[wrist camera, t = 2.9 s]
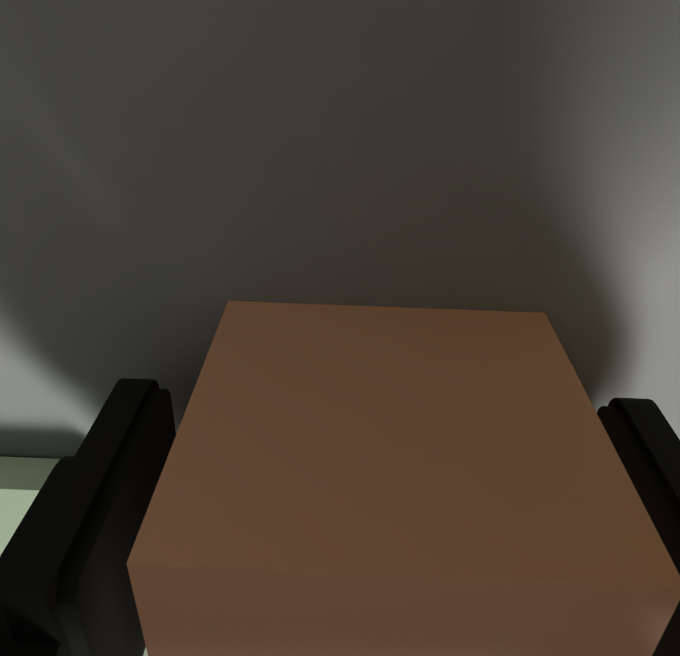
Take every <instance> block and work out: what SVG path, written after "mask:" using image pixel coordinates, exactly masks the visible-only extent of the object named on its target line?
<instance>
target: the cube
mask: <svg viewBox="0 0 680 656" xmlns="http://www.w3.org/2000/svg"><path fill="white" fill-rule="evenodd" d="M126 564H127V568H128V572H129V577H130V581H131V585H132V589H133V594H134V598H135V602H136V606H137V611H138V615H139V619H140V623H141V628H142V632H143V636H144V641H145V645H146V649H147V653H148V656H652V655H653V653H654V651H655V649H656V647H657V645H658V643H659V641H660V639H661V637H662V635H663V633H664V631H665V629H666V627H667V625H668V623H669V621H670V619H671V617H672V615H673V613H674V611H675V609H676V607H677V605H678V603H679V601H680V575H679V573H678V571H677V569H676V567H675V565H674V563H673V561H672V559H671V557H670V555H669V553H668V551H667V549H666V548H665V546H664V544H663V542H662V540H661V538H660V536H659V534H658V532H657V530H656V528H655V526H654V524H653V522H652V520H651V518H650V516H649V514H648V512H647V510H646V508H645V507H644V505H643V503H642V501H641V499H640V497H639V495H638V493H637V491H636V489H635V487H634V485H633V483H632V481H631V479H630V477H629V475H628V473H627V471H626V469H625V467H624V466H623V464H622V462H621V460H620V458H619V456H618V454H617V452H616V450H615V448H614V446H613V444H612V442H611V440H610V438H609V436H608V434H607V432H606V430H605V428H604V426H603V425H602V423H601V421H600V419H599V417H598V415H597V413H596V411H595V409H594V407H593V405H592V403H591V401H590V399H589V397H588V395H587V393H586V391H585V389H584V387H583V386H582V384H581V382H580V380H579V378H578V376H577V374H576V372H575V370H574V368H573V366H572V364H571V362H570V360H569V358H568V356H567V354H566V352H565V350H564V348H563V346H562V345H561V343H560V341H559V339H558V337H557V335H556V333H555V331H554V329H553V327H552V325H551V323H550V321H549V319H548V317H547V315H546V313H542V312H515V311H488V310H462V309H435V308H408V307H382V306H355V305H328V304H302V303H275V302H248V301H228V302H227V305H226V307H225V310H224V313H223V315H222V318H221V320H220V323H219V326H218V328H217V331H216V333H215V336H214V338H213V341H212V344H211V346H210V349H209V351H208V354H207V357H206V359H205V362H204V364H203V367H202V369H201V372H200V375H199V377H198V380H197V382H196V385H195V388H194V390H193V393H192V395H191V398H190V400H189V403H188V406H187V408H186V411H185V413H184V416H183V419H182V421H181V424H180V426H179V429H178V431H177V434H176V437H175V439H174V442H173V444H172V447H171V450H170V452H169V455H168V457H167V460H166V462H165V465H164V468H163V470H162V473H161V475H160V478H159V481H158V483H157V486H156V488H155V491H154V493H153V496H152V499H151V501H150V504H149V506H148V509H147V512H146V514H145V517H144V519H143V522H142V524H141V527H140V530H139V532H138V535H137V537H136V540H135V543H134V545H133V548H132V550H131V553H130V555H129V558H128V561H127V563H126Z"/></svg>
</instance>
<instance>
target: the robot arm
mask: <svg viewBox="0 0 680 656" xmlns="http://www.w3.org/2000/svg"><path fill="white" fill-rule="evenodd" d="M597 415H598V417H599V419H600V421H601V423H602V425H603V426H604V428H605V430H606V432H607V434H608V436H609V438H610V440H611V442H612V444H613V446H614V448H615V450H616V452H617V454H618V456H619V458H620V460H621V462H622V464H623V466H624V467H625V469H626V471H627V473H628V475H629V477H630V479H631V481H632V483H633V485H634V487H635V489H636V491H637V493H638V495H639V497H640V499H641V501H642V503H643V505H644V507H645V508H646V510H647V512H648V514H649V516H650V518H651V520H652V522H653V524H654V526H655V528H656V530H657V532H658V534H659V536H660V538H661V540H662V542H663V544H664V546H665V548H666V549H667V551H668V553H669V555H670V557H671V559H672V561H673V563H674V565H675V567H676V569H677V571H678V573H679V575H680V440H679V438H678V437H677V435H676V434H675V432H674V431H673V429H672V428H671V426H670V425H669V423H668V422H667V420H666V418H665V417H664V415H663V414H662V412H661V411H660V409H659V408H658V406H657V405H656V404H655V403H654V401H652V400H650V399H634V398H614V399H612V400H611V401H610V402H609V405H608V406H602V407H600V408H599V409H598V411H597ZM175 437H176V431H175V424H174V417H173V410H172V404H171V397H170V392H169V390H168V389H160V388H159V384H158V382H157V381H156V380H151V379H125V378H122V379H120V380H119V381H118V382H117V383H116V385H115V387H114V388H113V390H112V392H111V394H110V395H109V397H108V399H107V401H106V402H105V404H104V406H103V408H102V409H101V411H100V413H99V415H98V416H97V418H96V420H95V422H94V423H93V425H92V427H91V429H90V430H89V432H88V434H87V436H86V437H85V439H84V441H83V443H82V444H81V446H80V448H79V450H78V451H77V453H76V455H75V457H69V456H65V457H63V458H62V459H60V460H59V461H58V462H57V464H56V465H55V466H54V468H53V469H52V471H51V472H50V474H49V476H48V477H47V479H46V481H45V482H44V484H43V486H42V487H41V489H40V491H39V492H38V494H37V496H36V497H35V499H34V501H33V502H32V504H31V506H30V507H29V509H28V511H27V512H26V514H25V516H24V517H23V519H22V521H21V522H20V524H19V526H18V527H17V529H16V531H15V532H14V534H13V536H12V537H11V539H10V541H9V542H8V544H7V546H6V547H5V549H4V551H3V552H2V554H1V556H0V656H143V654H144V651H145V648H146V645H145V641H144V636H143V632H142V628H141V623H140V619H139V615H138V611H137V606H136V602H135V598H134V594H133V589H132V585H131V581H130V577H129V572H128V568H127V564H126V563H127V561H128V558H129V555H130V553H131V550H132V548H133V545H134V543H135V540H136V537H137V535H138V532H139V530H140V527H141V524H142V522H143V519H144V517H145V514H146V512H147V509H148V506H149V504H150V501H151V499H152V496H153V493H154V491H155V488H156V486H157V483H158V481H159V478H160V475H161V473H162V470H163V468H164V465H165V462H166V460H167V457H168V455H169V452H170V450H171V447H172V444H173V442H174V439H175ZM652 656H680V601H679V603H678V605H677V607H676V609H675V611H674V613H673V615H672V617H671V619H670V621H669V623H668V625H667V627H666V629H665V631H664V633H663V635H662V637H661V639H660V641H659V643H658V645H657V647H656V649H655V651H654V653H653V655H652Z"/></svg>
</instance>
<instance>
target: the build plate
mask: <svg viewBox="0 0 680 656" xmlns="http://www.w3.org/2000/svg"><path fill="white" fill-rule="evenodd" d="M59 460H60V459H51V458H26V457H1V456H0V556H1V554H2V552H3V551H4V549H5V547H6V546H7V544H8V542H9V541H10V539H11V537H12V536H13V534H14V532H15V531H16V529H17V527H18V526H19V524H20V522H21V521H22V519H23V517H24V516H25V514H26V512H27V511H28V509H29V507H30V506H31V504H32V502H33V501H34V499H35V497H36V496H37V494H38V492H39V491H40V489H41V487H42V486H43V484H44V482H45V481H46V479H47V477H48V476H49V474H50V472H51V471H52V469H53V468H54V466H55V465H56V464H57V462H58V461H59ZM143 656H148V653H147V649H146V648H145V651H144V654H143Z"/></svg>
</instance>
